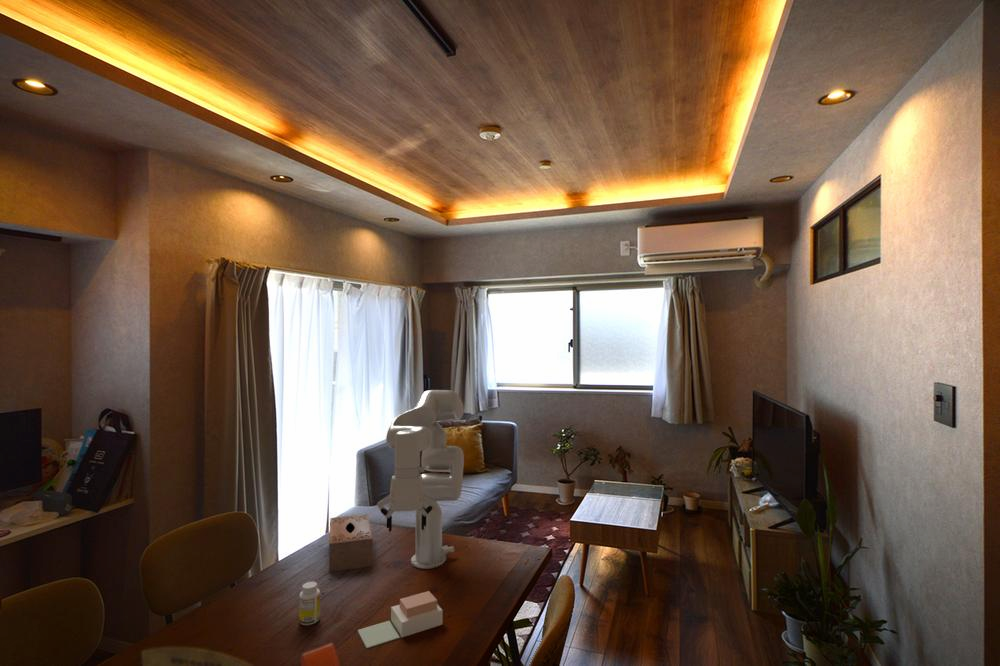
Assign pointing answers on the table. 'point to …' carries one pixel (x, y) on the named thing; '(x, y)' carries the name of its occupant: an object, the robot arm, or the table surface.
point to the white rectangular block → (415, 620)
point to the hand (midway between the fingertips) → (406, 529)
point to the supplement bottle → (309, 604)
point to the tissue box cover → (350, 543)
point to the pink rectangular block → (418, 604)
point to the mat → (378, 634)
